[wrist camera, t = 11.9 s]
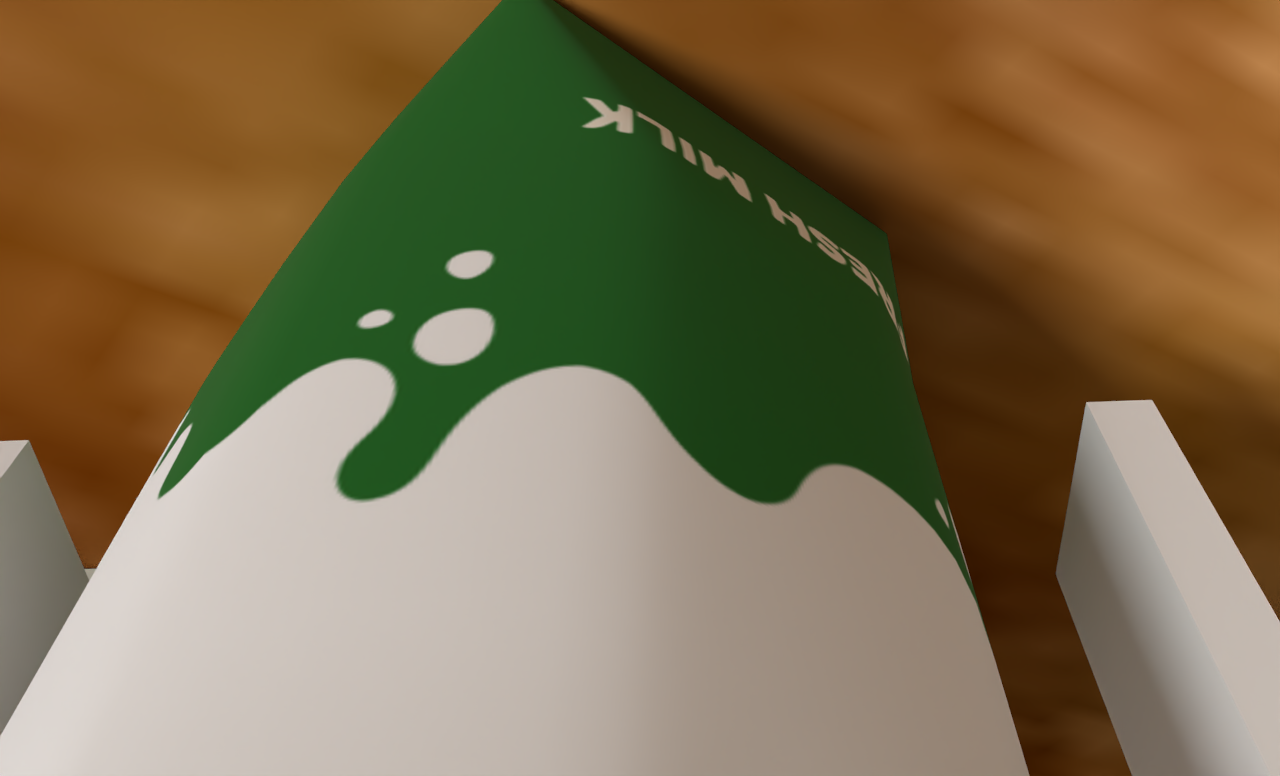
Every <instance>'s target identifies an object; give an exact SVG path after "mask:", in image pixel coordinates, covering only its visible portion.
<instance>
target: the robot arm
mask: <svg viewBox="0 0 1280 776" xmlns="http://www.w3.org/2000/svg"><path fill="white" fill-rule="evenodd" d="M1056 577H1057V579H1058V582H1059V585H1060V587H1061V590H1062V593H1063V595H1064V598H1065V600H1066V603H1067V606H1068V608H1069V611H1070V614H1071V616H1072V619H1073V622H1074V624H1075V627H1076V629H1077V632H1078V635H1079V637H1080V640H1081V643H1082V645H1083V648H1084V650H1085V653H1086V656H1087V658H1088V661H1089V664H1090V666H1091V669H1092V672H1093V674H1094V677H1095V679H1096V682H1097V685H1098V687H1099V690H1100V693H1101V695H1102V698H1103V701H1104V703H1105V706H1106V708H1107V711H1108V714H1109V716H1110V719H1111V722H1112V724H1113V727H1114V730H1115V732H1116V735H1117V737H1118V740H1119V743H1120V745H1121V748H1122V751H1123V753H1124V756H1125V758H1126V761H1127V764H1128V766H1129V769H1130V772H1131V774H1132V776H1280V621H1279V619H1278V618H1277V616H1276V614H1275V613H1274V611H1273V609H1272V607H1271V606H1270V604H1269V602H1268V600H1267V599H1266V597H1265V595H1264V593H1263V592H1262V590H1261V588H1260V586H1259V585H1258V583H1257V581H1256V580H1255V578H1254V576H1253V574H1252V573H1251V571H1250V569H1249V567H1248V566H1247V564H1246V562H1245V560H1244V559H1243V557H1242V555H1241V553H1240V552H1239V550H1238V548H1237V547H1236V545H1235V543H1234V541H1233V540H1232V538H1231V536H1230V534H1229V533H1228V531H1227V529H1226V527H1225V526H1224V524H1223V522H1222V520H1221V519H1220V517H1219V515H1218V514H1217V512H1216V510H1215V508H1214V507H1213V505H1212V503H1211V501H1210V500H1209V498H1208V496H1207V494H1206V493H1205V491H1204V489H1203V487H1202V486H1201V484H1200V482H1199V481H1198V479H1197V477H1196V475H1195V474H1194V472H1193V470H1192V468H1191V467H1190V465H1189V463H1188V461H1187V460H1186V458H1185V456H1184V454H1183V453H1182V451H1181V449H1180V448H1179V446H1178V444H1177V442H1176V441H1175V439H1174V437H1173V435H1172V434H1171V432H1170V430H1169V428H1168V427H1167V425H1166V423H1165V421H1164V420H1163V418H1162V416H1161V415H1160V413H1159V411H1158V409H1157V408H1156V406H1155V404H1154V402H1153V401H1152V400H1132V401H1105V402H1086V406H1085V411H1084V417H1083V423H1082V428H1081V434H1080V439H1079V445H1078V451H1077V456H1076V462H1075V467H1074V473H1073V479H1072V484H1071V490H1070V495H1069V501H1068V507H1067V512H1066V518H1065V524H1064V529H1063V535H1062V540H1061V546H1060V552H1059V557H1058V563H1057V568H1056ZM88 582H89V579H88V577H87V574H86V572H85V570H84V567H83V565H82V563H81V560H80V558H79V556H78V553H77V551H76V549H75V546H74V544H73V542H72V539H71V537H70V535H69V532H68V530H67V528H66V525H65V523H64V521H63V518H62V516H61V514H60V511H59V509H58V507H57V504H56V502H55V500H54V498H53V495H52V493H51V491H50V488H49V486H48V484H47V481H46V479H45V477H44V474H43V472H42V470H41V467H40V465H39V463H38V460H37V458H36V456H35V453H34V451H33V449H32V446H31V444H30V442H29V440H20V441H0V736H1V734H2V732H3V730H4V729H5V727H6V725H7V724H8V722H9V720H10V718H11V717H12V715H13V713H14V711H15V710H16V708H17V706H18V704H19V703H20V701H21V699H22V697H23V696H24V694H25V692H26V690H27V689H28V687H29V685H30V683H31V682H32V680H33V678H34V676H35V675H36V673H37V671H38V670H39V668H40V666H41V664H42V663H43V661H44V659H45V657H46V656H47V654H48V652H49V650H50V649H51V647H52V645H53V643H54V642H55V640H56V638H57V636H58V635H59V633H60V631H61V629H62V628H63V626H64V624H65V622H66V621H67V619H68V617H69V616H70V614H71V612H72V610H73V609H74V607H75V605H76V603H77V602H78V600H79V598H80V596H81V595H82V593H83V591H84V589H85V588H86V586H87V584H88Z"/></svg>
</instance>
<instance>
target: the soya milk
mask: <svg viewBox="0 0 1280 776" xmlns="http://www.w3.org/2000/svg"><path fill="white" fill-rule="evenodd" d="M0 776H1029V772H1028V769H1027V766H1026V762H1025V759H1024V756H1023V752H1022V749H1021V745H1020V742H1019V739H1018V735H1017V732H1016V729H1015V725H1014V722H1013V719H1012V715H1011V712H1010V709H1009V705H1008V702H1007V699H1006V695H1005V692H1004V689H1003V685H1002V682H1001V679H1000V675H999V672H998V668H997V665H996V662H995V658H994V655H993V652H992V648H991V645H990V642H989V638H988V635H987V632H986V628H985V625H984V622H983V618H982V615H981V612H980V608H979V605H978V601H977V598H976V595H975V591H974V588H973V585H972V581H971V578H970V574H969V571H968V568H967V564H966V561H965V558H964V554H963V551H962V547H961V544H960V541H959V537H958V534H957V531H956V527H955V524H954V521H953V517H952V514H951V510H950V507H949V504H948V500H947V497H946V494H945V490H944V487H943V483H942V480H941V477H940V473H939V470H938V467H937V463H936V460H935V456H934V453H933V450H932V446H931V443H930V440H929V436H928V433H927V429H926V426H925V423H924V419H923V416H922V412H921V409H920V405H919V402H918V399H917V395H916V392H915V388H914V385H913V380H912V374H911V368H910V362H909V357H908V351H907V345H906V340H905V334H904V328H903V323H902V317H901V311H900V306H899V300H898V294H897V289H896V283H895V278H894V272H893V266H892V261H891V255H890V249H889V243H888V237H887V234H886V233H885V232H884V231H882V230H881V229H879V228H878V227H877V226H875V225H874V224H872V223H871V222H869V221H868V220H867V219H865V218H864V217H862V216H861V215H859V214H858V213H857V212H855V211H854V210H852V209H851V208H849V207H848V206H847V205H845V204H844V203H842V202H841V201H839V200H838V199H836V198H835V197H834V196H832V195H831V194H829V193H828V192H826V191H825V190H824V189H822V188H821V187H819V186H818V185H816V184H815V183H814V182H812V181H811V180H809V179H808V178H806V177H805V176H804V175H802V174H801V173H799V172H798V171H796V170H795V169H794V168H792V167H791V166H789V165H788V164H786V163H785V162H784V161H782V160H781V159H779V158H778V157H776V156H775V155H774V154H772V153H771V152H769V151H768V150H766V149H765V148H764V147H762V146H761V145H759V144H758V143H756V142H755V141H754V140H752V139H751V138H749V137H748V136H746V135H745V134H744V133H742V132H741V131H739V130H738V129H736V128H735V127H734V126H732V125H731V124H729V123H728V122H726V121H725V120H724V119H722V118H721V117H719V116H718V115H716V114H715V113H714V112H712V111H711V110H709V109H708V108H706V107H705V106H704V105H702V104H701V103H699V102H698V101H696V100H695V99H694V98H692V97H691V96H689V95H688V94H686V93H685V92H684V91H682V90H681V89H679V88H678V87H676V86H675V85H674V84H672V83H671V82H669V81H668V80H666V79H665V78H664V77H662V76H661V75H659V74H658V73H656V72H655V71H654V70H652V69H651V68H649V67H648V66H646V65H645V64H644V63H642V62H641V61H639V60H638V59H636V58H635V57H634V56H632V55H631V54H629V53H628V52H626V51H625V50H624V49H622V48H621V47H619V46H618V45H616V44H615V43H613V42H612V41H611V40H609V39H608V38H606V37H605V36H603V35H602V34H601V33H599V32H598V31H596V30H595V29H593V28H592V27H591V26H589V25H588V24H586V23H585V22H583V21H582V20H581V19H579V18H578V17H576V16H575V15H573V14H572V13H571V12H569V11H568V10H566V9H565V8H563V7H562V6H561V5H559V4H558V3H556V2H555V1H553V0H502V1H501V2H500V3H499V4H498V6H497V7H496V8H495V9H494V10H493V11H492V12H491V13H490V14H489V16H488V17H487V18H486V19H485V20H484V21H483V22H482V23H481V24H480V25H479V27H478V28H477V29H476V30H475V31H474V32H473V33H472V34H471V35H470V36H469V38H468V39H467V40H466V41H465V42H464V43H463V44H462V45H461V46H460V47H459V49H458V50H457V51H456V52H455V53H454V54H453V55H452V56H451V57H450V59H449V60H448V61H447V62H446V63H445V64H444V65H443V66H442V67H441V69H440V70H439V71H438V72H437V73H436V74H435V75H434V76H433V77H432V79H431V80H430V81H429V82H428V83H427V84H426V85H425V86H424V87H423V89H422V90H421V91H420V92H419V93H418V94H417V95H416V96H415V98H414V99H413V100H412V101H411V102H410V103H409V104H408V105H407V106H406V108H405V109H404V110H403V111H402V112H401V113H400V114H399V115H398V116H397V118H396V119H395V120H394V121H393V122H392V123H391V125H390V126H389V127H388V128H387V129H386V131H385V132H384V133H383V134H382V135H381V137H380V138H379V139H378V140H377V141H376V142H375V144H374V145H373V146H372V147H371V148H370V150H369V151H368V152H367V153H366V154H365V156H364V157H363V158H362V159H361V160H360V161H359V163H358V164H357V165H356V166H355V167H354V169H353V170H352V171H351V172H350V173H349V175H348V176H347V177H346V178H345V179H344V181H343V182H342V183H341V185H340V186H339V187H338V189H337V190H336V192H335V193H334V194H333V196H332V197H331V199H330V200H329V201H328V203H327V204H326V205H325V207H324V208H323V210H322V211H321V212H320V214H319V215H318V216H317V218H316V219H315V221H314V222H313V223H312V225H311V226H310V228H309V229H308V230H307V232H306V233H305V234H304V236H303V237H302V239H301V240H300V241H299V243H298V244H297V245H296V247H295V248H294V250H293V251H292V252H291V254H290V255H289V257H288V258H287V259H286V261H285V262H284V263H283V265H282V266H281V268H280V269H279V271H278V272H277V274H276V275H275V277H274V278H273V279H272V281H271V282H270V284H269V285H268V287H267V288H266V290H265V291H264V293H263V294H262V296H261V297H260V299H259V300H258V301H257V303H256V304H255V306H254V307H253V309H252V310H251V312H250V313H249V315H248V316H247V318H246V319H245V321H244V322H243V324H242V325H241V327H240V328H239V330H238V331H237V333H236V334H235V336H234V337H233V339H232V340H231V342H230V343H229V345H228V346H227V348H226V349H225V351H224V352H223V354H222V355H221V357H220V358H219V360H218V361H217V363H216V364H215V366H214V367H213V369H212V370H211V372H210V374H209V375H208V377H207V378H206V380H205V381H204V383H203V385H202V386H201V388H200V390H199V392H198V393H197V395H196V397H195V399H194V400H193V402H192V404H191V406H190V407H189V409H188V411H187V412H186V414H185V416H184V418H183V419H182V421H181V423H180V425H179V426H178V428H177V430H176V432H175V433H174V435H173V437H172V438H171V440H170V442H169V444H168V445H167V447H166V449H165V451H164V452H163V454H162V456H161V458H160V459H159V461H158V463H157V465H156V466H155V468H154V470H153V471H152V473H151V475H150V477H149V478H148V480H147V482H146V484H145V485H144V487H143V489H142V491H141V492H140V494H139V496H138V497H137V499H136V501H135V503H134V504H133V506H132V508H131V510H130V511H129V513H128V515H127V517H126V518H125V520H124V522H123V523H122V525H121V527H120V529H119V530H118V532H117V534H116V536H115V537H114V539H113V541H112V543H111V544H110V546H109V548H108V549H107V551H106V553H105V555H104V556H103V558H102V560H101V562H100V563H99V565H98V567H97V569H96V570H95V572H94V574H93V575H92V577H91V579H90V581H89V582H88V584H87V586H86V588H85V589H84V591H83V593H82V595H81V596H80V598H79V600H78V602H77V603H76V605H75V607H74V609H73V610H72V612H71V614H70V616H69V617H68V619H67V621H66V622H65V624H64V626H63V628H62V629H61V631H60V633H59V635H58V636H57V638H56V640H55V642H54V643H53V645H52V647H51V649H50V650H49V652H48V654H47V656H46V657H45V659H44V661H43V663H42V664H41V666H40V668H39V670H38V671H37V673H36V675H35V676H34V678H33V680H32V682H31V683H30V685H29V687H28V689H27V690H26V692H25V694H24V696H23V697H22V699H21V701H20V703H19V704H18V706H17V708H16V710H15V711H14V713H13V715H12V717H11V718H10V720H9V722H8V724H7V725H6V727H5V729H4V730H3V732H2V734H1V736H0Z"/></svg>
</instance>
